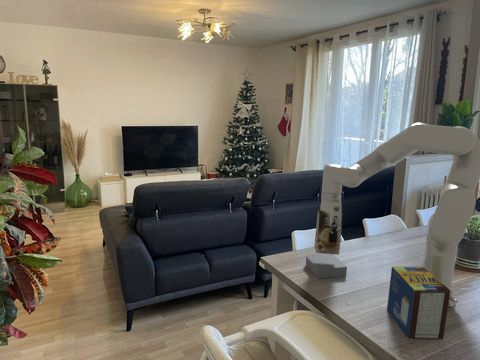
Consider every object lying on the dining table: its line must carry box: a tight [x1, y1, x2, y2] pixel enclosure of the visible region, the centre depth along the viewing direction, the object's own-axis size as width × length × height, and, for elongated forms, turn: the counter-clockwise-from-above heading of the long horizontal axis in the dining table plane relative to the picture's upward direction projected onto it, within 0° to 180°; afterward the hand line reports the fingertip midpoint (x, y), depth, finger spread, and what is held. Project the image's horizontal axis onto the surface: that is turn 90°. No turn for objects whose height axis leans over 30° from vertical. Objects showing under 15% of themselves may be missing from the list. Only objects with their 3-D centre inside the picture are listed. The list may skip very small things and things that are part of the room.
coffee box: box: [314, 209, 344, 255], centre depth 139 cm, size 9×6×16 cm
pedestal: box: [305, 254, 348, 279], centre depth 142 cm, size 12×12×4 cm
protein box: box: [386, 265, 450, 340], centre depth 107 cm, size 10×15×16 cm
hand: (327, 238), depth 139 cm, fingers closed on coffee box, 7 cm apart
